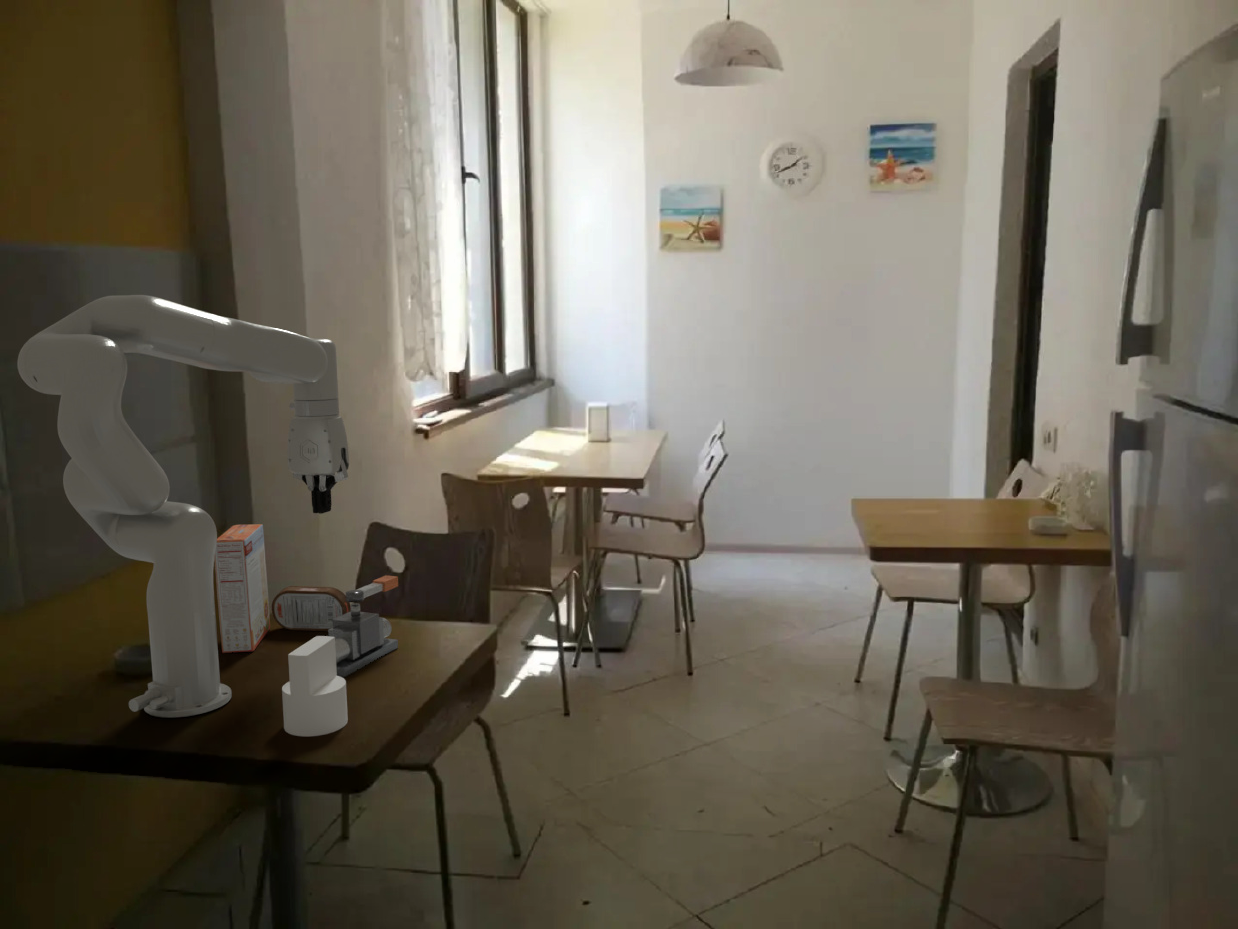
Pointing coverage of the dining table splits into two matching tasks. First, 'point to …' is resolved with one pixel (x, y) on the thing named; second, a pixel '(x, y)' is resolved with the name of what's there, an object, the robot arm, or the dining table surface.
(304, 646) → the base with upright slab
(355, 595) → the lever
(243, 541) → the cracker box
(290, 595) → the tin
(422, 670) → the dining table surface
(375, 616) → the valve body
